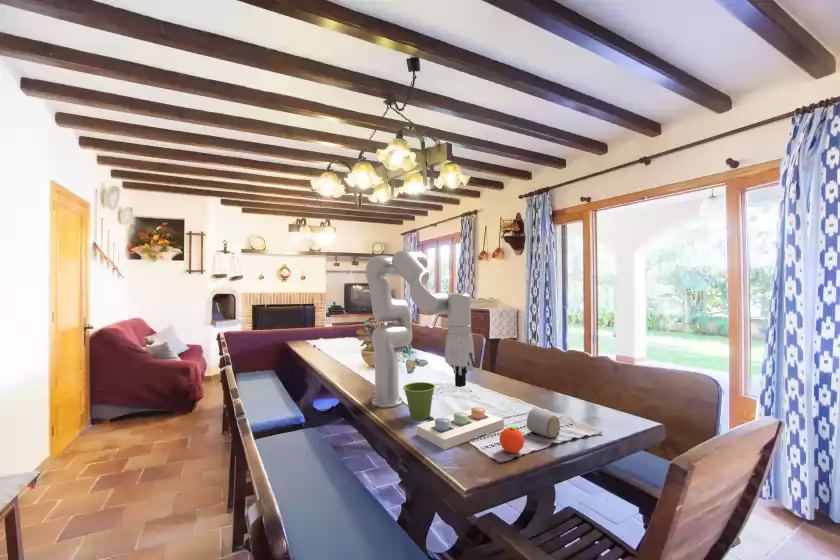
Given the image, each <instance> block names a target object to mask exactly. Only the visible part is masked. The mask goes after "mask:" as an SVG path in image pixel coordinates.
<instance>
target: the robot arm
mask: <svg viewBox="0 0 840 560" xmlns="http://www.w3.org/2000/svg"><path fill="white" fill-rule="evenodd" d="M427 267H428V258H427V257H426V255H425V254H424V253H423V252H421V251H419V250H399V251H396V252H395V253H394V254H393V255H375V256H372V257H371V258H370V259H369V260H368V261H367V263H366V266H365V277H366V280H367V284H368V287H369V293H370V301H371V310H372V315H373V318H374V320H375V321H376V322H379V323H387V322H389V323H390V322H394V324H386V325H381V326H378V327H376V328H375V329H374V330H373V331H372V334H371V340H372V346H373V353H374V382H375V383H374V385H375V386H374V388H375V389H374V390H373V391H372V392H373V394H374V398H372V400H371V405H373V406H374V407H376V406H377V407H378V408H386V409H387V408H394V407H397V406H400V405H402V404H403V402H404V399H403V398H402V397H400V395H399V394H400V393H399V389H400V386H399V358H398V355H397V353H396V352H395V350H394V349H395V348H400V347H404V346H405V347H406V346H408V345H410V344H411V342H412V340H413V326H412V319H411V318H412V317H411V312H410V307H409V304H408V302H407V301H406V300H404V299H403V298H400V297H395V298H394V297H393V296H392V289H391V287H390V284H389V282H388V281H387V280H386V278H385V277H402V278H403V280H404V281H406V283H407V284H408V285H409V295H410V299H411V300H412V302H413V304H414V305H415V306H416V307H417V308H418V309H419V310H420V311H421V312H422V313H424V314H425V315H428V316H436V315H437V316H438V315H446V314H447V329H448V330H447V334H446V338H445V348H444V362H445V363H446V364H448V366H449V367H450V368H452V371H453V374H454V385H455V387H458V388H462V387H466V385H467V384H466V383H467V382H466V381H467V379H466V378H467V377H466V376H467V374H468V372H471V371H473V370H474V367H473V366H474V365H475V346H474V338H473V335H472V307H471V306H472V305H471V304H472V302H471V301H472V299H471V295H470V294H469V293H465V292H457V293H456V292H451V291H440V292H439V291H438V292H430V291H429V290H428V289H427V288H426V287H425V285H426V284H427V283H428V281H429V279H430V272H429V270H428V269H427Z"/></svg>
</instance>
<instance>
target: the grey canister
mask: <svg viewBox="0 0 840 560" xmlns="http://www.w3.org/2000/svg"><path fill="white" fill-rule="evenodd" d="M526 427H527V429H528V431H529V432H532V433H535V434H537V435H540V436H543V437H545V438H555V437H556V436H557V435H558V433H559V432H560V431H561V422H560V419H559V417H558V416H556V415H555V414H553V413H551V412H548V411H545V410H543V409H541V408H539V407H533V408H532V409H530V410H529V413H528V415H527V419H526Z"/></svg>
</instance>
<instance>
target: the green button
mask: <svg viewBox="0 0 840 560" xmlns="http://www.w3.org/2000/svg"><path fill="white" fill-rule="evenodd" d="M453 414H454V424H455V425H457V426H460V427H462V426H465V425H468V414H467V413H464V412H463V411H460V412H459V411H458V412H455V413H453Z"/></svg>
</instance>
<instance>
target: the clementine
mask: <svg viewBox="0 0 840 560" xmlns="http://www.w3.org/2000/svg"><path fill="white" fill-rule="evenodd" d="M499 443H500V446H501V448H502V449H503V450H504V451H506V453H509V454H510V453H511V454H517V453H518V452H520V451H521V450H522V449H523V447H524V443H525V437H524V436H523V434H522V432H521V431H520V429H519V428H518V427H517V426H509V427H506V428H503V430H502V431H501V433H500V435H499Z"/></svg>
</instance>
